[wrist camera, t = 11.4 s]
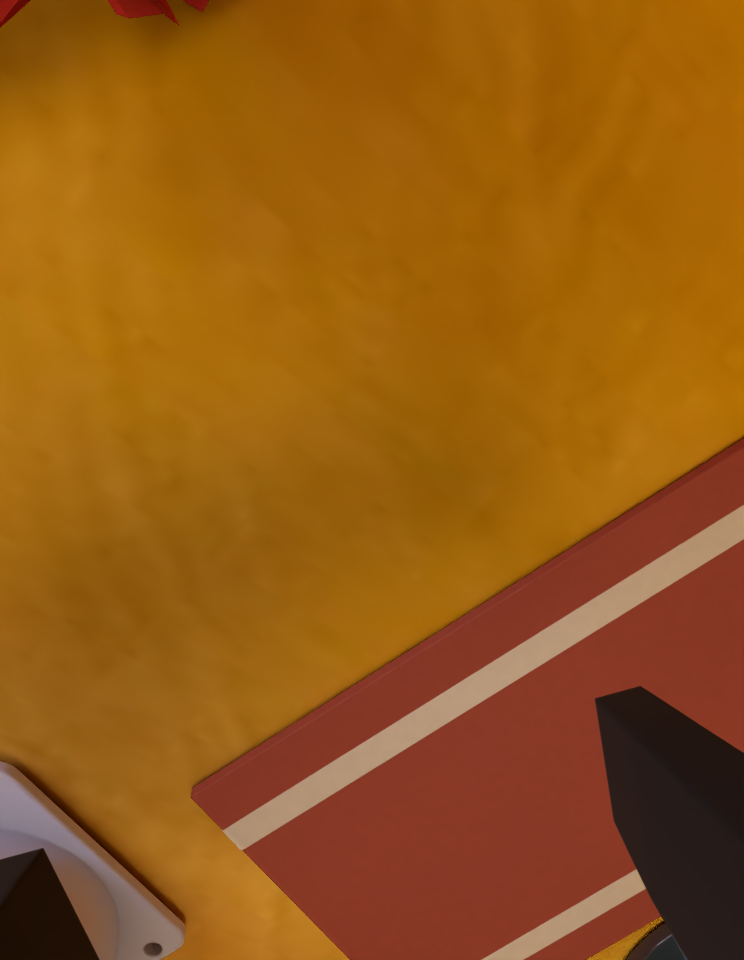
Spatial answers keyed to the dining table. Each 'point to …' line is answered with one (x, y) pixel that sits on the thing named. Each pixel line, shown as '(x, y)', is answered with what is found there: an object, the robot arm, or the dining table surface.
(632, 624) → the tea towel
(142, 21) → the dining table surface
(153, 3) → the bouquet
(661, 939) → the polished metal trivet
